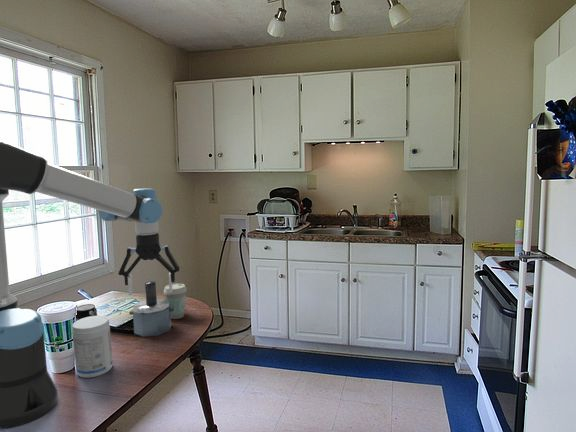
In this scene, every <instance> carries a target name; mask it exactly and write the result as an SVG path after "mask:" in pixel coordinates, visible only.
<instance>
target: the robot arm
mask: <svg viewBox="0 0 576 432" xmlns="http://www.w3.org/2000/svg"><path fill="white" fill-rule="evenodd" d="M10 191H14V192H15V191H16V192H20V193H24V194H27V195H33V194H35V193H39V194H43V195H46V196H49V197H53V198H56V199H57V198H58V199H60V200H62V201H67V202H71V203H74V204H77V205H80V206H83V207H88V208H90V209H93V210H97V211H98V215H99V217H100V218H101V220H103V221H104V222H115V221H125V222H126V221H127V222H134V225H135V226H134V227H135V230H134V231H135V233H136V235H135V242H136V247H131V246H129V247H128V248H126V255H125V257H124V259H123V262H122V264H121V267H120V268H119V270H118V275H119V276H123V277H124V285H125V286H127V287H128V288H127V289H128V295H129V296H132V295H133V293H134V290H133V278H132V277H133V276H132V274H130V273H132V271H133V269H134V268H135V267H136V266H137V265H138V263H139V262H140V261H141V260H143V261H147V260H150V261H153V260H156V261H158V262H159V263H160V265H162V266H163V267H164V268H165V269H166V270H167V271H168V272H169V273H168V285H169V292H172V284H173V283H175V281H176V274H175V273H177V272H179V271H180V269H181V267H180V266H179V265H178V262H177V261H176V259H175V258H174V256H173V254H172V253H171V249H170V246H169V245H165V246H161V245H160V234H159V233H158V232H159V220H160V219H161V218H162V215H163V211H164V210H163V205H162V203H161V202H160V200H158V198H157V192H156V189H154V188H144V187H143V188H134V189H133V190H132V192H129V191H127V190H124V189H121V188H119V187H116V186H114V185H110V184H107V183H105V182H102V181H99V180H96V179H93V178H90V177H88V176H85V175H82V174H80V173H76V172H74V171H71V170H68V169H66V168H63V167H60V166H58V165H54V164H52V163H50V162H49V163H48V160H47V159H46V158H45V157H44V156H41V155H39V154H37V153H33V152H32V151H29V150H26V149H24V148H23V147H20V146H17V145H14V144H11V143H9V142H7V141H4V140H0V429H3V428H12V427H13V428H14V427H18V426H21V425H23V424H27V423H29V422H32V421H35V420H37V419H39V418H40V417H43V416H44V415H45V414H47V413H49V412H50V411H51V410H52V409H53V408H54V407H55V406H56V405H57V404H58V401H59V394H58V393H59V391H58V388H57V386H56V384H55V382H54V381H53V378H52V377H51V375H50V374H49V372H48V366H47V357H46V353H47V352H46V346H45V333H44V332H45V325H44V323H43V321H42V316H41V314H40V313H39V312H38V311H36V310H34V309H30V308H20V307H19V303H18V297H17V296H16V295H14V294H12V293H11V292H10V283H9V282H10V281H9V280H10V279H9V269H8V255H7V244H6V234H5V233H6V232H5V230H6V229H5V220H4V210H3V209H4V208H3V201H4V200H5V199H6V198H7V197H8V196H10V193H9V192H10ZM161 251H162V252H163V253H165V255H166V257H167V259H168V260H169V262H170V263H168V262H167V260H166V259H164V257H163V256H162V254H160V252H161ZM134 253H136V254H137V258H135V260H134V261H133V263H132V264H131V265H130V266H129V268H128V269H127V270H126V268H127V266H128V264H129V261H130V259H131V257H132V255H133V254H134ZM170 264H171V265H170ZM125 270H126V271H125Z"/></svg>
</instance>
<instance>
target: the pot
mask: <svg viewBox="0 0 576 432" xmlns="http://www.w3.org/2000/svg"><path fill="white" fill-rule="evenodd" d="M171 311H174V307H170V304H169V308H168V309H166V310H164V311H161V312H158V313H152V314H139V313H136V312H134V309H133V310H132V309H131V310H129V315H130V316H131V315H132V318H133V320H132V321H133V333H134V334H135V335H137V336H140V337H143V338H146V337H155V336H157V337H158V336H160V335H163V334H164V333H168V332H171V328H172V319H171Z"/></svg>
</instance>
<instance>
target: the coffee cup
mask: <svg viewBox="0 0 576 432" xmlns="http://www.w3.org/2000/svg"><path fill="white" fill-rule="evenodd" d="M186 293H187V287H186V285H185V284H184V283H172V292H169V284H167V285H165V286H164V289H163V294H164V297H165V298H164V299H165V300H168V301H169V304H170V307H174V311H171V320H178V319H182V318H184V317H185V312H186V311H185V310H186V298H187V297H186V296H187V294H186Z"/></svg>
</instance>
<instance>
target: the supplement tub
mask: <svg viewBox="0 0 576 432" xmlns="http://www.w3.org/2000/svg"><path fill="white" fill-rule="evenodd" d="M71 333H72V343H73V344H72V345H73V351H74V353H73V354H74V360H75V362H74V363H75V372H76V374H77V376H79V377H80V378H86V379H87V378H90V379H91V378H96V377H100V376H102V375H105V374H106V373H108V372H109V371H110V370H111V369H112V367H113V365H114V362H113V361H114V360H113V349H112V340H111V338H112V337H111V326H110V320H109V318H108V316H106V315H105V316H104V315H97V316H90V317H85V318H82V319H80V320H77V321H76V322H75V321H74V322H73V323H72V332H71Z"/></svg>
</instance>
